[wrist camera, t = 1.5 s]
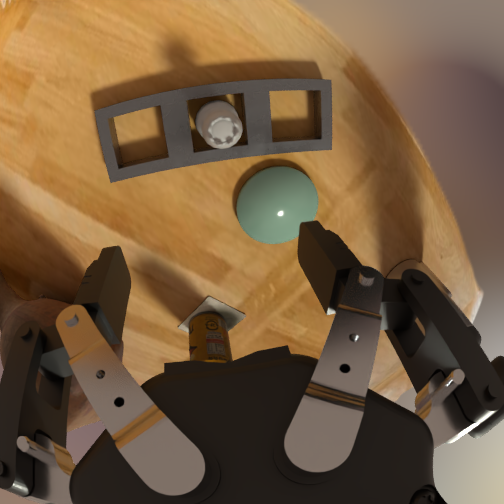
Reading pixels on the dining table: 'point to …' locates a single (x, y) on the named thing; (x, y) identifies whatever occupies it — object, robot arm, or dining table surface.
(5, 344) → the jug
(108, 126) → the grey compartment tray
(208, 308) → the condiment
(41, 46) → the dining table surface
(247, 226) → the green dome
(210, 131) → the rook chess piece
